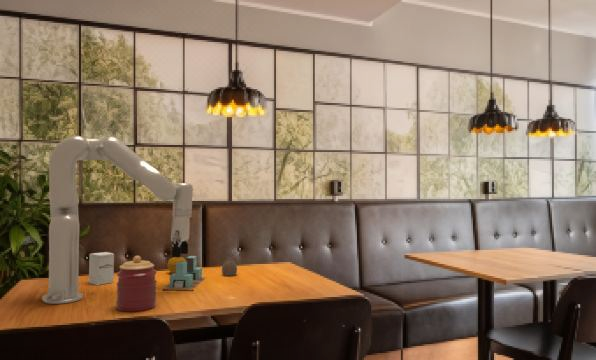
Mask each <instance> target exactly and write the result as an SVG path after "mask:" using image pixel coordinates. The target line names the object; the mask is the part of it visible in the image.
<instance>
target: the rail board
mask: <svg viewBox="0 0 596 360" xmlns="http://www.w3.org/2000/svg"><path fill="white" fill-rule="evenodd" d="M187 274H193V285H192V286H191V287H189V288H185V282H186V280H177V281H175V283H174V287H169V285H170V283H169V284H167V285H166V286H164V287H163V288H162V291H163V292H192V293H193V292H194V291H195V288H196V287H198V285H200V284H201V283H202V282H203V281H204V280H205V279H207V276H205V277H204V276H202V278H201V279H200V280H196V273H187Z"/></svg>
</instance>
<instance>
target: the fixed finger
mask: <svg viewBox="0 0 596 360" xmlns="http://www.w3.org/2000/svg"><path fill="white" fill-rule="evenodd" d="M197 258H198V257H197V255H189V256H187V257H186V259H185V260H186V261H187V273H196V280H200V279H201V278H202V277H203V267H199V266H197V265H198V262H197Z"/></svg>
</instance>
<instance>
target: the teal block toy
mask: <svg viewBox="0 0 596 360" xmlns="http://www.w3.org/2000/svg"><path fill="white" fill-rule="evenodd" d="M177 280H186V282H185V288H189V287H191V286H192V285H193V274H187V261H180V262H178V263H176V274H172V273H171V275H169V284H170V285H169V284H168V285H169V287H174V283H175V281H177Z"/></svg>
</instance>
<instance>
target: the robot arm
mask: <svg viewBox="0 0 596 360" xmlns="http://www.w3.org/2000/svg"><path fill="white" fill-rule="evenodd" d="M106 160H107V161H109V162H110V163H111V164H112V165H114V166H116V168H117V169H119V171H121V172H123V174H125V175H126V176H128V177H129V178H131V179H132V180H134V181H137V182H138V183H140V184H141V185H143V186H144V187H146V188H147V189H149V191H151V193H152V194H153V196H154V198H156V199H157V200H159V201H163V202H164V201H165V202H168V201H171V200H172V223H171V232H170V233H171V234H170V241H171V242H172V244H171V245H172V250H171V252H172V253H171V258H173V257H182V255H183V254H184V255H187V254H188V253H189V252H188V251H189V239H190V229H191V228H190V227H191V226H190V225H191V224H190V218H192V215H193V214H192V213H193V211H192V209H193V194H194V192H193V191H194V187H193V184H191V183H188V182H185V183H184V182H177V183H173V182H172V181H171V180H169V179H168V178H167V176H165V175H164V174H162V173H161V172H160V171H159V170H157V169H156V168H154V167H153V166H152V165H150V164H149V162H147V161H146V160H144V159H143V158H142V157H140V155H139V154H137V153H136V152H134V150H132V149H131V148H130V147H129V146H128V145H126V143H125V142H124V143H123V141H122V140H120V139H119V138H117V137H115V136H110V135H109V136H107V137H104V138H86V137H84V136H81V135H71V136H69V137H67V138H65V139H63V140H61V141H59V142H58V143H57V145H55V147H54V148H53V150H52V152H51V154H50V158H49V161H48V162H49V164H48V165H49V167H48V170H49V171H48V174H49V175H48V178H49V179H48V182H49V186H48V187H49V193H48V200H49V210H50V214H49V215H50V222H49V228H48V244H49V245H48V246H49V247H48V248H49V249H48V261H49V262H48V290H47V294H44V295H42V296H41V300H42V301H43V302H44V303H45V304H51V305H57V304H58V305H60V304H69V303H73V302H77V301H80V300H82V299H83V297H84V295H83V294H82V293H81V292H79V269H80V268H79V266H80V265H79V263H80V262H79V259H80V256H79V254H80V251H79V250H80V247H79V245H80V219H79V201H78V200H79V198H78V197H79V194H78V191H77V184H76V183H77V181H76V179H77V178H76V165H77V162H78V161H106ZM181 254H182V255H181Z"/></svg>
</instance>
